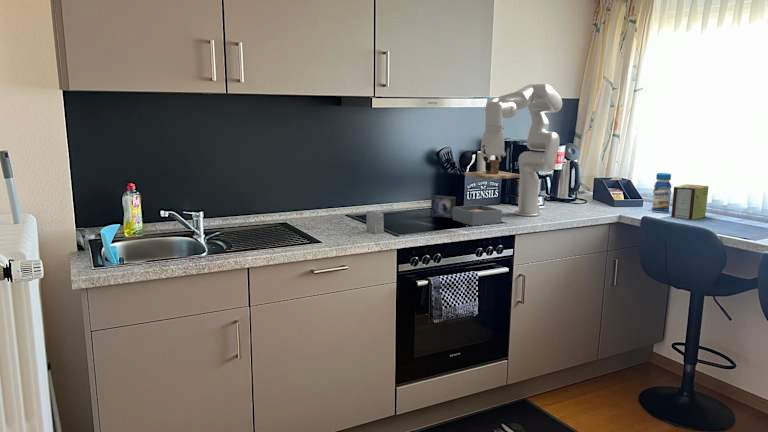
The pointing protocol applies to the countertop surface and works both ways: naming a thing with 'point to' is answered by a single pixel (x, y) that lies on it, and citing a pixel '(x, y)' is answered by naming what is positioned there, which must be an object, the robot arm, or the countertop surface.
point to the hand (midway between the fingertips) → (492, 170)
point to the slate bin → (477, 215)
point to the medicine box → (375, 222)
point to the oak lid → (492, 172)
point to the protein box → (689, 201)
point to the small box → (442, 206)
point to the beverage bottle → (661, 193)
